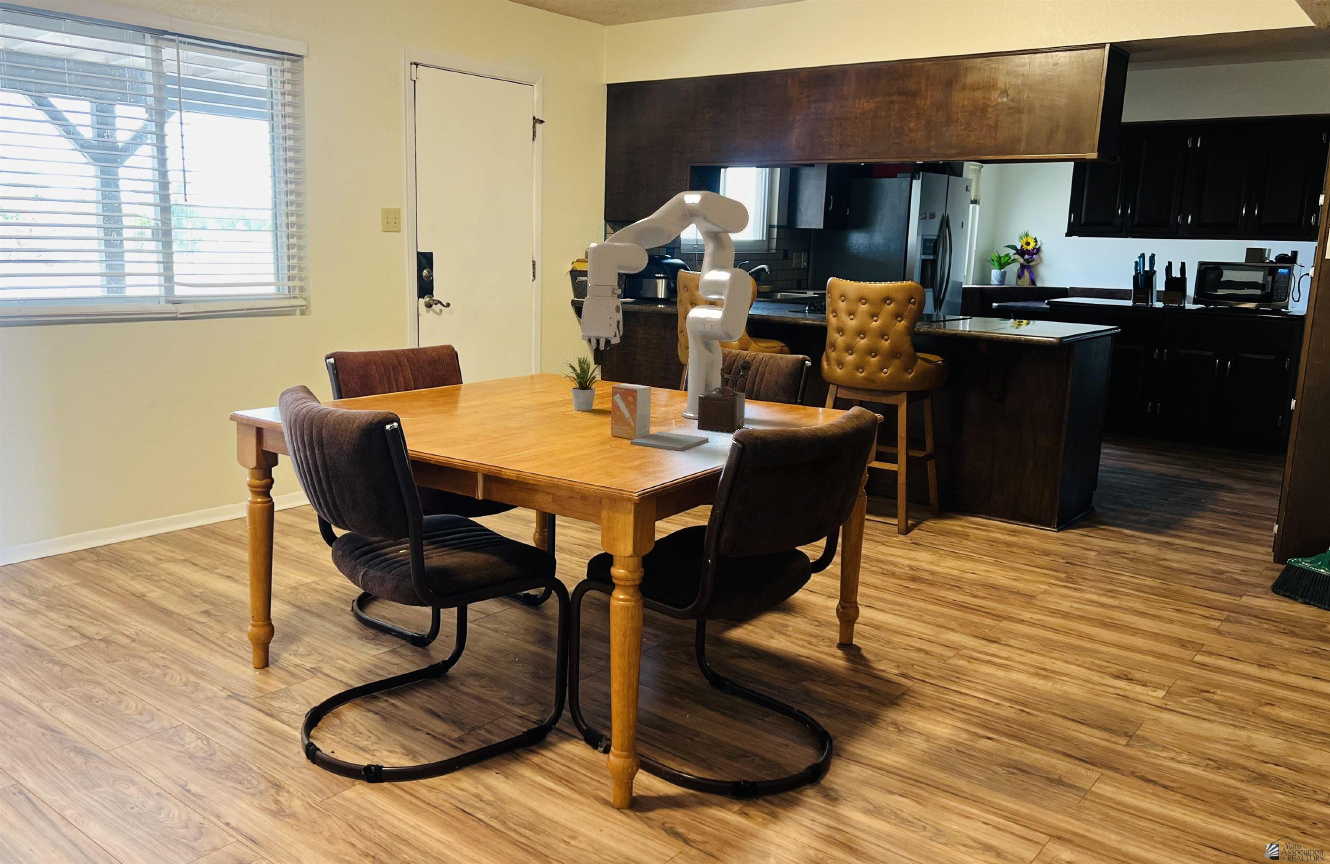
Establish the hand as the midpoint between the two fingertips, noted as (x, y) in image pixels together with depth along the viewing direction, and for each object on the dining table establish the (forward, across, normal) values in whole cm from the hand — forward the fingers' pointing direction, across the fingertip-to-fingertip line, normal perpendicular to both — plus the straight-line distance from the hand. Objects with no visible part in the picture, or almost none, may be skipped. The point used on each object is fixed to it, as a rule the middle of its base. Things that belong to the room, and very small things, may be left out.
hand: (599, 364), depth 262 cm
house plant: (+18, +24, -28) cm, 41 cm away
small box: (+18, -9, -1) cm, 20 cm away
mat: (+18, -21, 0) cm, 28 cm away
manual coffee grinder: (+17, -23, -28) cm, 40 cm away
